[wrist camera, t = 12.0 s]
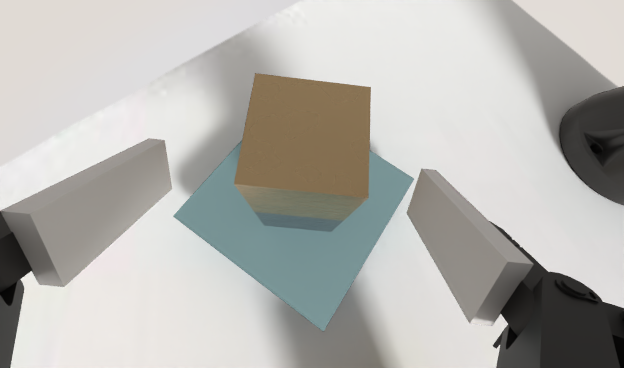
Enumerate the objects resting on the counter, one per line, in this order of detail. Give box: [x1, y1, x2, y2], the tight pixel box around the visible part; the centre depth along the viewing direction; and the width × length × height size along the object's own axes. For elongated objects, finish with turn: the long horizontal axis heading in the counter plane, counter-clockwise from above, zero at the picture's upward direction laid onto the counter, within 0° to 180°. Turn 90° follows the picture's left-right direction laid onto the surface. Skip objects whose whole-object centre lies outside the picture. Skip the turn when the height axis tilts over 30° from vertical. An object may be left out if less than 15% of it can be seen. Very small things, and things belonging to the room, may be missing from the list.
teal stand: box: [173, 141, 414, 331], centre depth 26 cm, size 16×16×4 cm
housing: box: [234, 73, 371, 232], centre depth 18 cm, size 6×6×12 cm
